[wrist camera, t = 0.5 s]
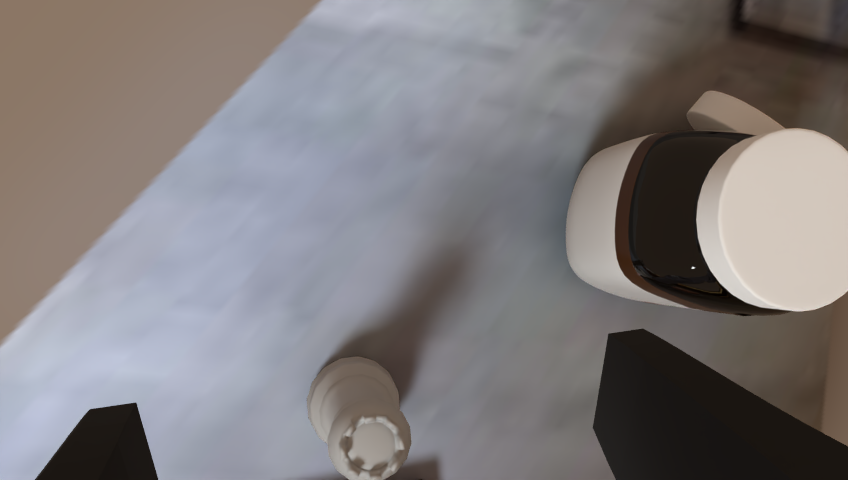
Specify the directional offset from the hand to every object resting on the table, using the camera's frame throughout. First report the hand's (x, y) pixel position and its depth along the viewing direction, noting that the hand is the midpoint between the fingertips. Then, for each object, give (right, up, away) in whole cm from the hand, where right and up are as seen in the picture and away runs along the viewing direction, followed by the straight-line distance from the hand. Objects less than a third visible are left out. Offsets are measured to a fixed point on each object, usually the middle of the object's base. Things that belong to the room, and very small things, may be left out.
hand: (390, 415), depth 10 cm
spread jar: (+13, +5, +26) cm, 29 cm away
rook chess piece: (-3, -5, +22) cm, 23 cm away
